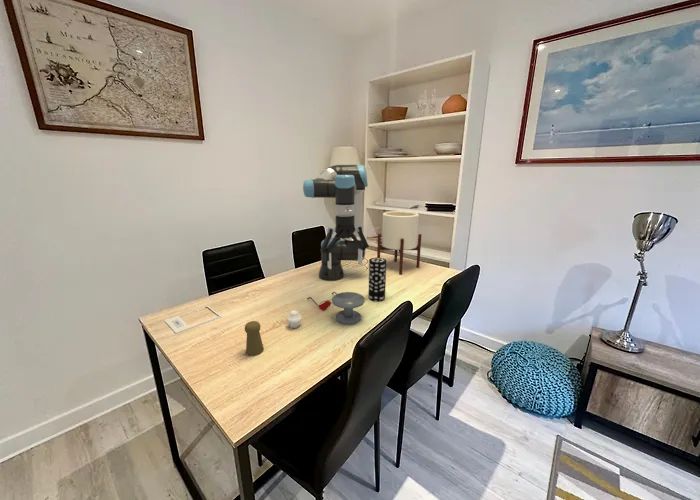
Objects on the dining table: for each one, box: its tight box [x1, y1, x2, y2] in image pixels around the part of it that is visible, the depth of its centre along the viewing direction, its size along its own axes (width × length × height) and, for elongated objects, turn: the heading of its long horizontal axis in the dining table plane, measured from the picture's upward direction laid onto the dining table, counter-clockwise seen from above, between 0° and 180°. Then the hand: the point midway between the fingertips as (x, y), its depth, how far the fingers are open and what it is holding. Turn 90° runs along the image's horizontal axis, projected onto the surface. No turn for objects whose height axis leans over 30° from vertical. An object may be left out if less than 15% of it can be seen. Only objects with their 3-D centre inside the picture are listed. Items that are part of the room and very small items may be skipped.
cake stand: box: [331, 291, 366, 325], centre depth 122 cm, size 14×14×9 cm
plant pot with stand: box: [376, 210, 422, 276], centre depth 183 cm, size 22×22×36 cm
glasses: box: [306, 291, 338, 311], centre depth 138 cm, size 14×16×5 cm
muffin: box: [286, 309, 303, 329], centre depth 116 cm, size 6×6×7 cm
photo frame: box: [164, 305, 223, 335], centre depth 122 cm, size 15×1×18 cm
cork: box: [244, 320, 265, 357], centre depth 99 cm, size 6×6×11 cm
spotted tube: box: [368, 257, 387, 303], centre depth 140 cm, size 8×8×20 cm
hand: (345, 266), depth 118 cm, fingers open, 13 cm apart
